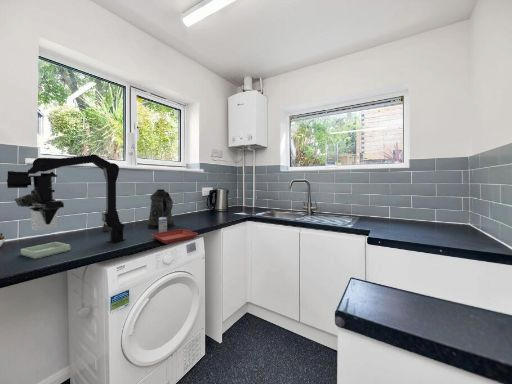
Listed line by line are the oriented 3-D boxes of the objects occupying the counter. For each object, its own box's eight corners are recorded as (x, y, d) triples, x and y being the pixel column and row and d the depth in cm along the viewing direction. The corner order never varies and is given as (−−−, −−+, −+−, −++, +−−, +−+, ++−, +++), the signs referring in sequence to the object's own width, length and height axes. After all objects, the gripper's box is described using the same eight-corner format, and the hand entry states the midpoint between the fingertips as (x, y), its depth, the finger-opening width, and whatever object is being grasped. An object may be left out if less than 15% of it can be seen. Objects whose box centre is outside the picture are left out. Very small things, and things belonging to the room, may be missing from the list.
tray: (70, 250, 100) (70, 244, 100) (35, 259, 89) (34, 252, 89) (55, 247, 105) (55, 241, 105) (20, 254, 94) (20, 249, 94)
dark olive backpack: (156, 223, 161) (155, 188, 160) (182, 224, 158) (181, 189, 157) (141, 228, 145) (140, 189, 143) (170, 229, 142) (169, 190, 141)
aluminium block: (57, 227, 99) (57, 209, 99) (37, 230, 93) (36, 211, 92) (52, 226, 101) (51, 208, 101) (31, 229, 95) (30, 210, 94)
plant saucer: (150, 239, 120) (150, 233, 120) (182, 233, 132) (182, 228, 132) (164, 246, 107) (164, 239, 107) (198, 239, 119) (198, 233, 119)
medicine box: (158, 231, 137) (158, 217, 136) (166, 230, 138) (166, 216, 138) (158, 234, 129) (158, 219, 129) (167, 233, 131) (166, 219, 131)
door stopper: (110, 231, 137) (109, 211, 137) (102, 230, 139) (101, 211, 138) (122, 228, 146) (121, 209, 145) (114, 227, 148) (114, 209, 147)
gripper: (6, 188, 93) (9, 225, 93) (28, 188, 85) (30, 229, 86) (41, 187, 103) (43, 221, 104) (63, 187, 95) (65, 224, 96)
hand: (45, 223), depth 97 cm, fingers closed on aluminium block, 4 cm apart
